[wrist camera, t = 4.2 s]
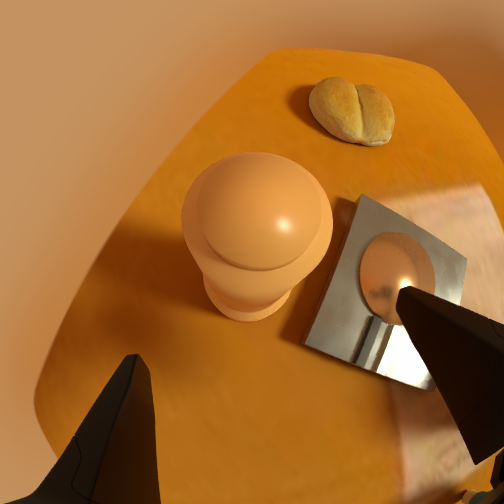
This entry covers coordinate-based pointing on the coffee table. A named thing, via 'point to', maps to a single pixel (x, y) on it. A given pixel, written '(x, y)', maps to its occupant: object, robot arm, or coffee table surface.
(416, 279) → the plate
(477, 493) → the light bulb
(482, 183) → the coffee table surface
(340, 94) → the bread roll
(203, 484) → the coffee table surface
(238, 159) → the tapered peach knob
